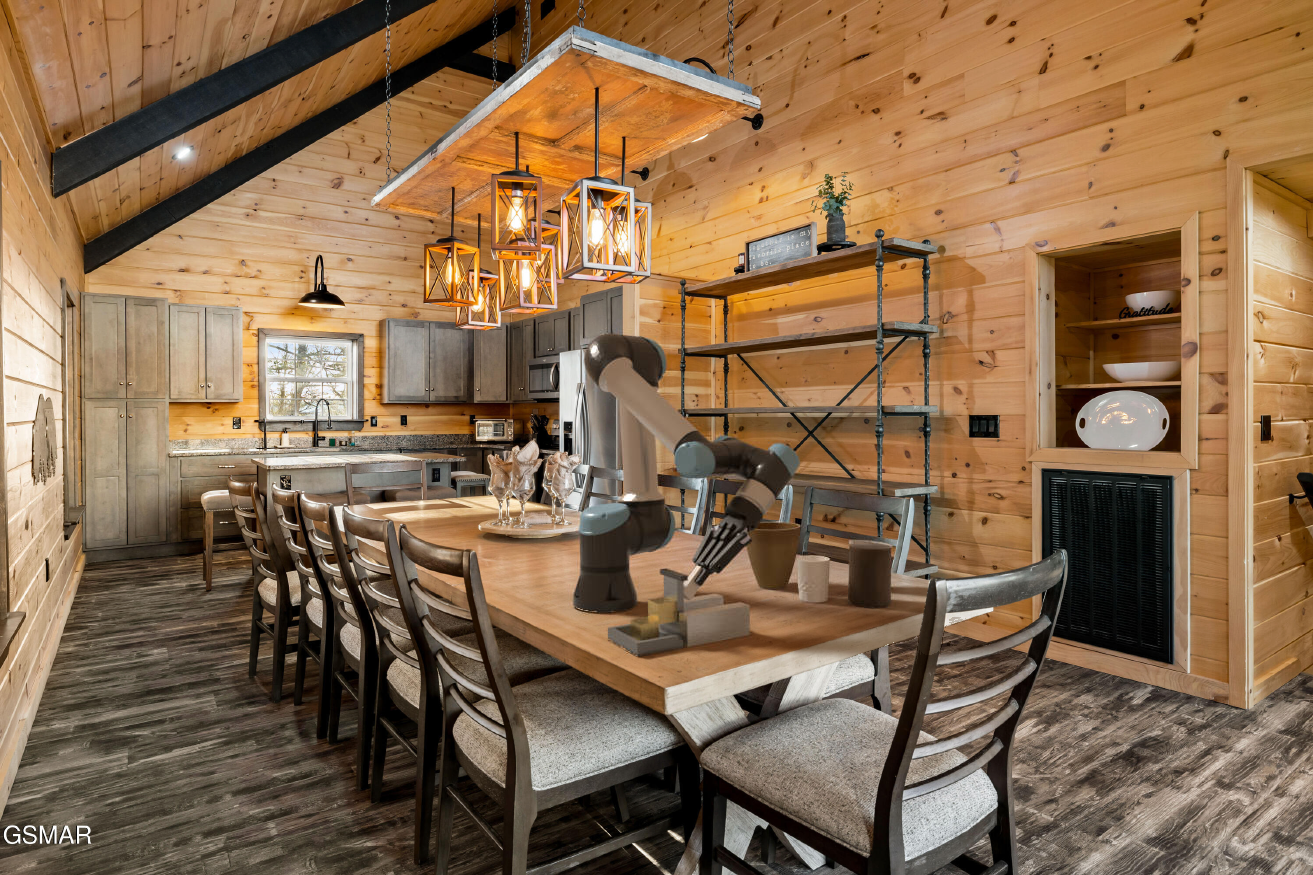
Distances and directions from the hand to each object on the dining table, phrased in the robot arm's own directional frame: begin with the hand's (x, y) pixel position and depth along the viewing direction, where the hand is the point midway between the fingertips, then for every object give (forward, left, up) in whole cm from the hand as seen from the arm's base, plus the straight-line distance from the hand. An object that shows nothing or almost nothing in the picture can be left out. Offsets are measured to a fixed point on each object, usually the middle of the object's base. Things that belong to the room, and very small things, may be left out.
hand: (684, 595), depth 145 cm
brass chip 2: (-3, -3, -4) cm, 7 cm away
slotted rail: (+2, +4, -9) cm, 10 cm away
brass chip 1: (-4, -5, -6) cm, 9 cm away
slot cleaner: (-2, -1, -4) cm, 5 cm away
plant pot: (+4, +51, -9) cm, 52 cm away
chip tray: (-6, -7, -9) cm, 12 cm away
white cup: (+17, +41, -9) cm, 45 cm away
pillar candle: (+30, +43, -9) cm, 53 cm away
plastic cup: (+28, +58, -9) cm, 65 cm away
